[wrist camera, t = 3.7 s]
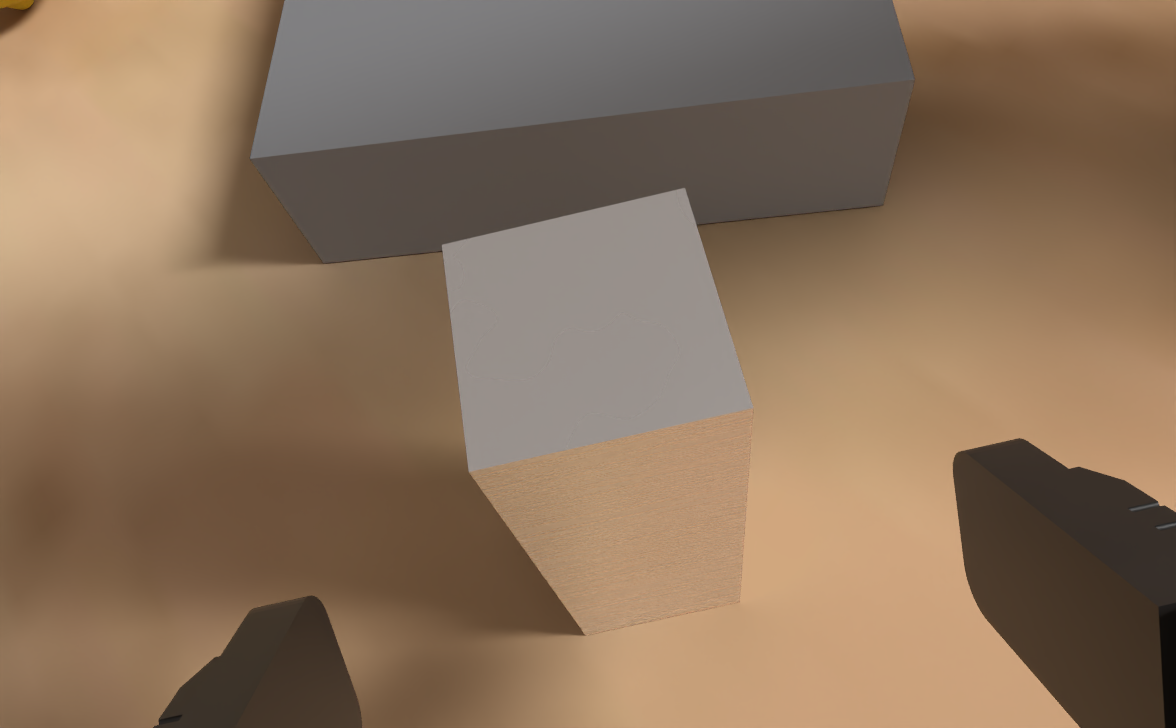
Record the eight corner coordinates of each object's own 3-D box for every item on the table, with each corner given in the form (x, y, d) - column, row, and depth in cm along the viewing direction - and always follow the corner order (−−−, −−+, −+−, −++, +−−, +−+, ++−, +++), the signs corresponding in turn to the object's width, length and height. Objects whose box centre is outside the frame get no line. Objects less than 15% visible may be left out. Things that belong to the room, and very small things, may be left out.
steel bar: (701, 458, 21) (684, 187, 12) (739, 601, 19) (754, 407, 10) (559, 490, 21) (441, 244, 12) (585, 635, 19) (468, 471, 10)
